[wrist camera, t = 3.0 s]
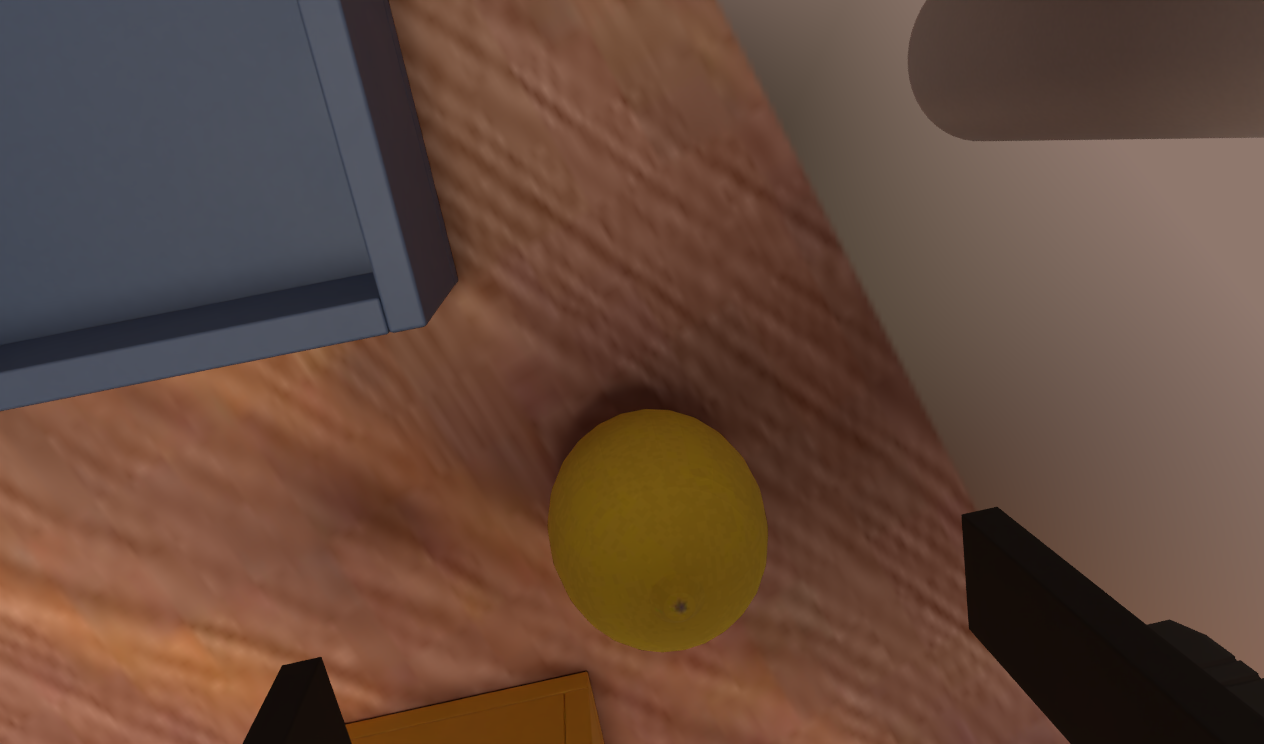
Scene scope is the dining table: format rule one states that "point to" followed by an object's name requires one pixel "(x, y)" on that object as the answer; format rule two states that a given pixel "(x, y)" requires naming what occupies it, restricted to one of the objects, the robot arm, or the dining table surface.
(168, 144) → the blue bin
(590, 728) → the yellow bin
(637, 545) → the lemon
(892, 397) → the dining table surface
